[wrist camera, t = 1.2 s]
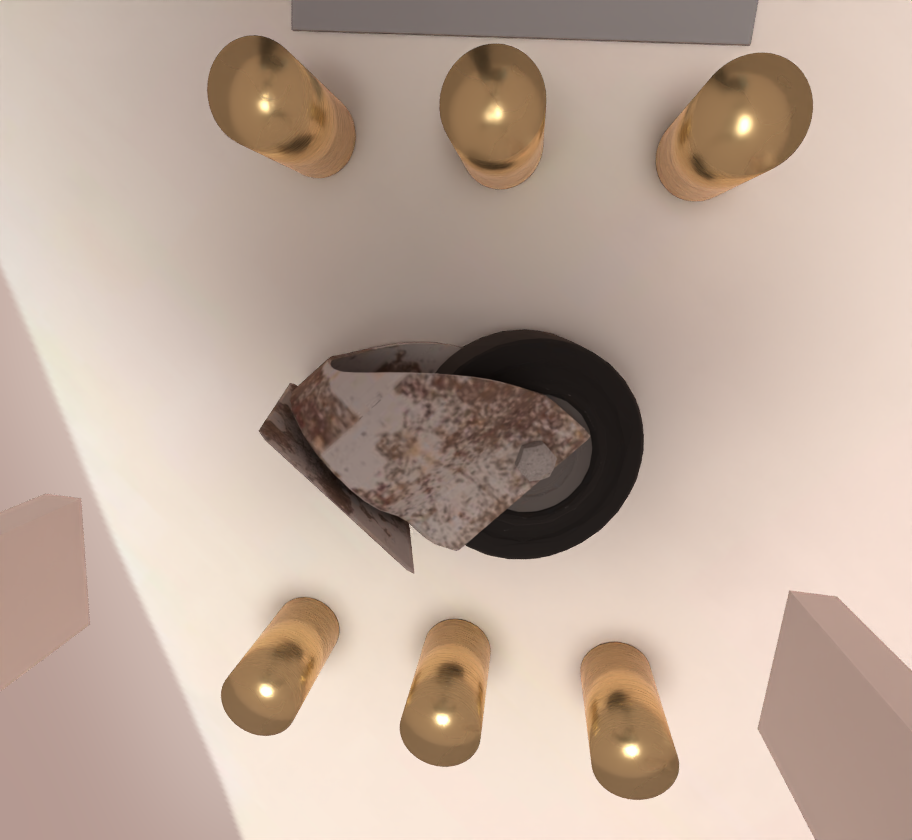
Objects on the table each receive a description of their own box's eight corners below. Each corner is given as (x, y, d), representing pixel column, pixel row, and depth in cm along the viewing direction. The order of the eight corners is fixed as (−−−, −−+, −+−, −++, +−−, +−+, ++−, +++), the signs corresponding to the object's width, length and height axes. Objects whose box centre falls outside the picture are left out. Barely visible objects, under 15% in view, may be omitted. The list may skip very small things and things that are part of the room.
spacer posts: (279, 90, 22) (205, 33, 17) (753, 111, 20) (824, 54, 15) (277, 650, 27) (221, 728, 22) (645, 707, 25) (671, 806, 21)
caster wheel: (635, 423, 25) (464, 567, 26) (469, 217, 22) (280, 391, 23) (721, 482, 19) (491, 669, 20) (505, 204, 16) (243, 445, 17)
